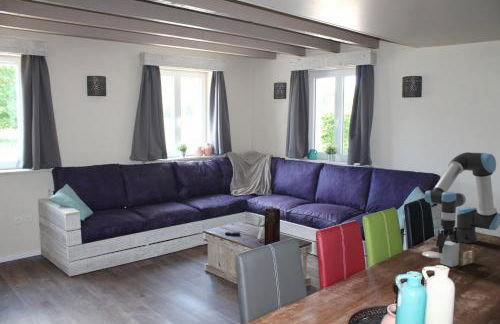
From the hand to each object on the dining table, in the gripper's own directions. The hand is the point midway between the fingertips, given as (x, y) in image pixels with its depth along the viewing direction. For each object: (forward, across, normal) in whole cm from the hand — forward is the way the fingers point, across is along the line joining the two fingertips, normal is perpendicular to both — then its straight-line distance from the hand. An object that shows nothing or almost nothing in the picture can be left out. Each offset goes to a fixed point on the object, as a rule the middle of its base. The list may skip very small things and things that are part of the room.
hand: (446, 256), depth 254 cm
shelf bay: (+4, -10, 0) cm, 11 cm away
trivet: (+4, -7, -15) cm, 17 cm away
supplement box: (+4, -1, +1) cm, 5 cm away
